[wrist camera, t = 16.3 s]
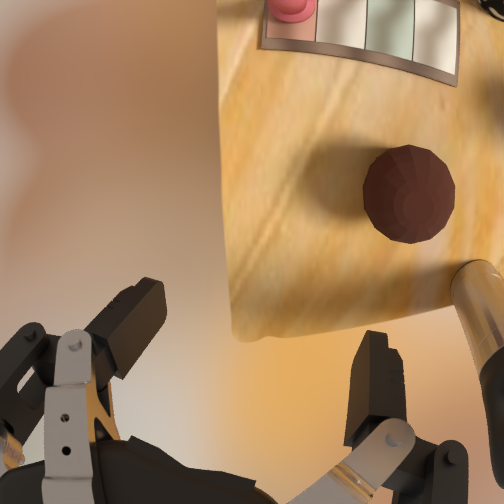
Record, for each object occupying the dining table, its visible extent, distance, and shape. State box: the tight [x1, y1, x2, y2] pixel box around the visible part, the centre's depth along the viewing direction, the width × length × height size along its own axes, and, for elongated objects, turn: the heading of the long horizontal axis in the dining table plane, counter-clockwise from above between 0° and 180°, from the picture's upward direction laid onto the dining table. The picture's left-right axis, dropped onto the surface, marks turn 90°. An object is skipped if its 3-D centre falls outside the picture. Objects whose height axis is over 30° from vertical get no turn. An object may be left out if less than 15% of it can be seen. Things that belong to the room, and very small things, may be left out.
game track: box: [261, 0, 460, 87], centre depth 25 cm, size 25×13×1 cm, turn 86°
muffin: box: [363, 145, 455, 244], centre depth 31 cm, size 12×11×10 cm
